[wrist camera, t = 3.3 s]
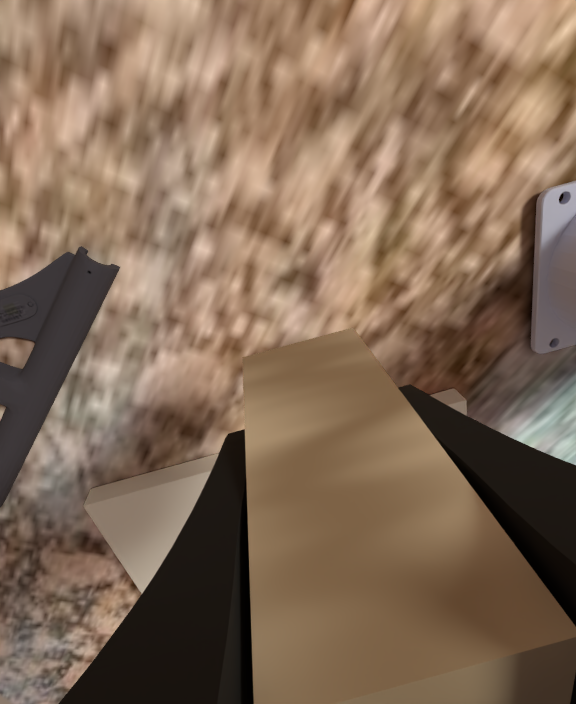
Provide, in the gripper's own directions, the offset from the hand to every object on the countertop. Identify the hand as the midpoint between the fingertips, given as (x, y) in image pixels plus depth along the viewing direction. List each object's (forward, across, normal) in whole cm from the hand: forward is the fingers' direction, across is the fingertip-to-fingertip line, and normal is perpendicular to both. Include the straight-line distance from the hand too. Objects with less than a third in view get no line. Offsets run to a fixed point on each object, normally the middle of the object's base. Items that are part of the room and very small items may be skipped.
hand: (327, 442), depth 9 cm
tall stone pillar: (+2, 0, 0) cm, 2 cm away
